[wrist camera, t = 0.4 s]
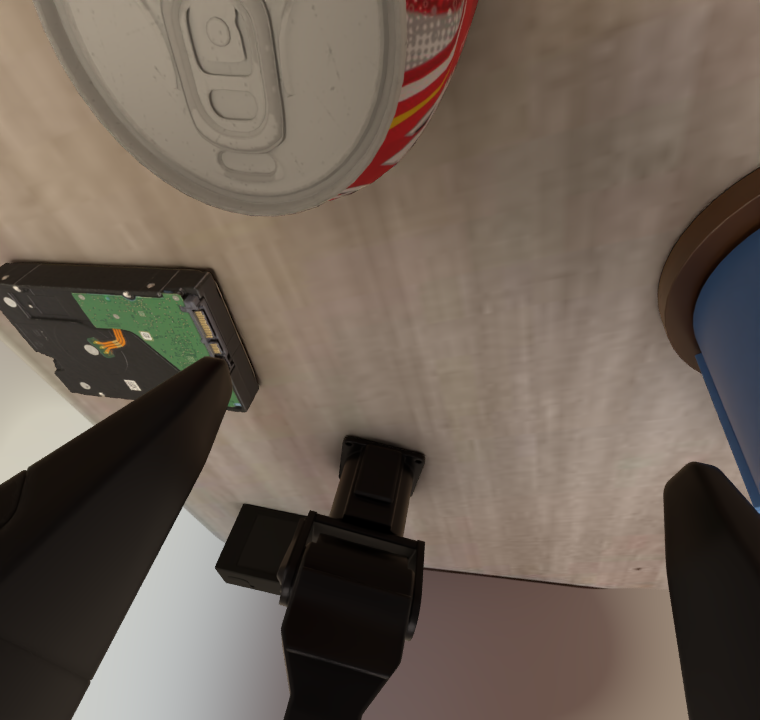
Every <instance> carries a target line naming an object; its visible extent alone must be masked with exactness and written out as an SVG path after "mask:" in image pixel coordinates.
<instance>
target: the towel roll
mask: <svg viewBox="0 0 760 720" xmlns="http://www.w3.org/2000/svg"><path fill="white" fill-rule="evenodd" d="M693 328H694V334H695V338H696V340H697V342H698V345H699V347H700V350H701V352H702V353H700V354H697V355H695V358H696V360H697V363H698V365H699V368H700V371H701V373H702V376H703V378H704V381H705V383H706V386H707V388H708V391H709V394H710V396H711V399H712V401H713V404H714V406H715V409H716V412H717V414H718V417H719V419H720V422H721V424H722V427H723V429H724V432H725V435H726V437H727V440H728V442H729V445H730V447H731V450H732V453H733V455H734V458H735V460H736V463H737V465H738V468H739V470H740V473H741V476H742V478H743V481H744V483H745V486H746V488H747V491H748V494H749V496H750V499H751V501H752V504H753V506H754V508H755V509H756V510H757V511H758V513H759V514H760V229H758V230H757V231H755V232H754V233H753V234H751V235H750V236H748V237H747V238H746V239H745V240H744V241H743V242H741V243H740V244H739V245H738V246H737V247H735V248H734V249H733V250H732V251H731V252H730V253H729V254H728V255H727V256H726V257H725V258H724V259H723V260H722V261H721V262H720V263H719V265H718V266H717V267H716V269H715V270H714V271H713V272H712V274H711V275H710V276H709V278H708V279H707V281H706V283H705V284H704V286H703V288H702V290H701V292H700V294H699V297H698V299H697V302H696V305H695V310H694V314H693Z"/></svg>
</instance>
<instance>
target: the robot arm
mask: <svg viewBox="0 0 760 720" xmlns="http://www.w3.org/2000/svg"><path fill="white" fill-rule="evenodd" d="M232 390H233V386H232V381H231V377H230V372H229V368H228V364H227V362H226V361H225V360H223V359H219V358H215V357H210V356H206V357H203V358H201V359H199V360H198V361H196V362H195V363H193V364H191V365H190V366H188V367H187V368H185V369H183V370H182V371H180V372H179V373H177V374H175V375H174V376H172V377H171V378H169V379H168V380H166V381H164V382H163V383H161V384H160V385H158V386H156V387H155V388H153V389H152V390H150V391H149V392H147V393H145V394H144V395H142V396H141V397H139V398H137V399H136V400H134V401H133V402H131V403H129V404H128V405H126V406H125V407H123V408H122V409H120V410H118V411H117V412H115V413H114V414H112V415H110V416H109V417H107V418H106V419H104V420H103V421H101V422H99V423H98V424H96V425H95V426H93V427H92V428H90V429H88V430H87V431H85V432H84V433H82V434H80V435H79V436H77V437H76V438H74V439H72V440H71V441H69V442H68V443H66V444H65V445H63V446H61V447H60V448H58V449H56V450H55V451H53V452H52V453H50V454H49V455H47V456H45V457H44V458H42V459H41V460H39V461H38V462H36V463H34V464H33V465H31V466H30V467H28V469H27V471H26V470H23V471H21V472H20V473H18V474H17V475H15V476H13V477H12V478H10V479H9V480H7V481H5V482H4V483H2V484H1V485H0V720H71V719H72V717H73V715H74V713H75V711H76V710H77V708H78V706H79V704H80V702H81V700H82V698H83V696H84V694H85V692H86V690H87V689H88V687H89V685H90V680H92V679H93V677H94V675H95V673H96V671H97V669H98V667H99V665H100V663H101V661H102V659H103V658H104V656H105V654H106V652H107V650H108V648H109V646H110V644H111V642H112V640H113V639H114V637H115V634H116V633H117V631H118V629H119V627H120V625H121V623H122V621H123V619H124V618H125V615H126V614H127V612H128V610H129V608H130V606H131V604H132V602H133V600H134V598H135V596H136V595H137V593H138V591H139V589H140V587H141V585H142V583H143V581H144V579H145V578H146V576H147V574H148V572H149V570H150V568H151V566H152V564H153V562H154V560H155V558H156V556H157V555H158V553H159V551H160V549H161V547H162V545H163V543H164V541H165V539H166V537H167V535H168V534H169V532H170V530H171V528H172V526H173V524H174V522H175V520H176V518H177V517H178V515H179V513H180V511H181V509H182V507H183V505H184V503H185V501H186V499H187V498H188V496H189V494H190V492H191V490H192V488H193V486H194V484H195V482H196V480H197V478H198V477H199V475H200V473H201V471H202V469H203V467H204V465H205V463H206V460H207V458H208V455H209V453H210V451H211V448H212V445H213V443H214V440H215V438H216V435H217V432H218V430H219V427H220V425H221V422H222V419H223V417H224V414H225V412H226V409H227V407H228V404H229V401H230V399H231V396H232ZM424 463H425V456H423V455H422V454H418V453H414V452H410V451H406V450H402V449H398V448H394V447H390V446H386V445H382V444H378V443H374V442H370V441H366V440H362V439H358V438H354V437H350V436H347V437H345V438H344V441H343V445H342V454H341V462H340V471H339V479H340V482H339V485H338V488H337V492H336V495H335V498H334V502H333V505H332V508H331V512H330V515H329V517H328V516H325V515H321V514H317V512H315V511H311V510H310V512H309V514H308V517H305V518H300V519H299V522H298V525H297V528H296V531H295V534H294V536H293V539H292V541H291V544H290V546H289V548H288V550H287V552H286V554H285V556H284V559H283V561H282V563H281V565H280V567H279V570H278V573H277V578H278V580H279V582H280V584H281V587H280V592H281V596H280V601H279V604H280V605H283V606H286V607H287V610H286V613H285V616H284V620H283V623H282V627H281V635H282V647H283V653H284V660H285V666H286V672H287V679H288V685H289V691H290V698H289V702H288V706H287V709H286V713H285V716H284V720H361V718H362V715H363V713H364V712H365V710H366V709H367V708H368V706H369V705H370V704H371V702H372V701H373V700H374V698H375V697H376V696H377V694H378V693H379V692H380V690H381V689H382V687H383V686H384V685H385V684H386V682H387V681H388V679H389V678H390V677H391V675H392V674H393V673H394V671H395V670H396V669H397V667H398V666H399V664H400V662H401V659H402V653H403V648H404V642H405V640H407V641H410V640H411V639H412V637H413V634H414V631H415V628H416V625H417V621H418V616H419V611H420V604H421V596H422V582H423V566H424V550H425V542H424V541H420V540H417V541H415V540H412V539H408V538H404V537H403V534H404V528H405V523H406V517H407V511H408V505H409V500H410V497H411V496H412V494H413V492H414V489H415V487H416V484H417V481H418V479H419V476H420V474H421V471H422V468H423V466H424ZM663 499H664V527H665V555H666V570H667V579H668V586H669V592H670V599H671V606H672V612H673V618H674V625H675V632H676V638H677V645H678V651H679V658H680V664H681V670H682V677H683V683H684V690H685V697H686V703H687V709H688V716H689V720H760V514H759V513H758V511H757V510H756V509H755V508H754V507H753V506H752V505H751V504H750V502H749V501H748V500H747V499H746V498H745V497H744V496H743V495H742V494H741V492H740V491H739V490H738V489H737V488H736V487H735V486H734V485H733V483H732V482H731V481H730V480H729V479H728V478H727V477H726V476H725V475H724V473H723V472H722V471H721V470H720V469H718V468H717V467H715V466H712V465H709V464H704V463H699V462H690V463H688V464H686V465H685V466H684V467H683V468H682V469H681V470H680V471H679V472H678V473H676V474H675V475H674V476H673V477H672V478H671V479H670V480H669V481H668V482H667V483H666V485H665V488H664V493H663Z"/></svg>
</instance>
